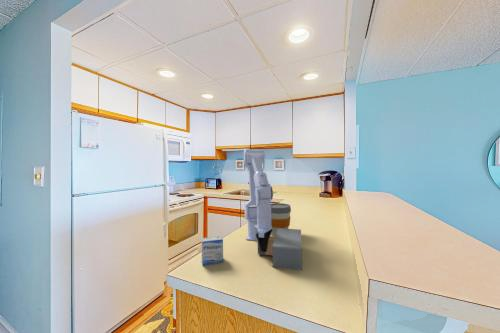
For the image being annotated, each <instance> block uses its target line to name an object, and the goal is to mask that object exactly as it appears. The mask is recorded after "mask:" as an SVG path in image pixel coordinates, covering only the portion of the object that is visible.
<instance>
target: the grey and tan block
mask: <svg viewBox="0 0 500 333" xmlns="http://www.w3.org/2000/svg"><path fill="white" fill-rule="evenodd" d="M274 239H275V237H273V236H271V235H270V237H269V240H268V245H267V251H266V252H261V249H260V245H259V241H258V240H257V255H266V256H273V249H272V246H273V243H274Z"/></svg>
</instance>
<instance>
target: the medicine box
mask: <svg viewBox="0 0 500 333" xmlns="http://www.w3.org/2000/svg"><path fill="white" fill-rule="evenodd" d="M200 242H201V265H202V266H205V265H212V264H220V263H224V239H223V237H222V236H221V235H219V236H212V237H209V236H208V237H202V238H201V241H200Z"/></svg>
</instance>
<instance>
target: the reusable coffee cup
mask: <svg viewBox="0 0 500 333" xmlns="http://www.w3.org/2000/svg"><path fill="white" fill-rule="evenodd" d="M291 212H292V209H291V204H288V203H278V202H277V203H275V202H274V203H271V226H272V232H271V235H270V236H273V237H275V236H276V233H277V230H278V228H283V229H290V228H289V227H290V225H291Z"/></svg>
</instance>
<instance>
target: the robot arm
mask: <svg viewBox="0 0 500 333" xmlns="http://www.w3.org/2000/svg"><path fill="white" fill-rule="evenodd" d="M265 156H266V154H265V150H264V148H263V149H262V148H261V149H259V148H256V149H255V148H254V149H253V148H252V149H247V148H245V149H244V150H243V165H244V167H246V168H247V171H248V184H249V186H248V187H249V200H248V201H247V202H245V205H244V217H245V219H246V220H247V231H248V232H247V234H248V235H247V236H246V238H245V240H248V241H257V242H258V241H259V245H260V249H261V252H266V251H267V245H268V240H269V237H270V236H271V232H272V226H271V204H272V200H273V199H274V190H273V186H272V185H271V183H269V180H268V176H267V173H266V172H264V170H263V169H264V168H263V163H264V160H265Z"/></svg>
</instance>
